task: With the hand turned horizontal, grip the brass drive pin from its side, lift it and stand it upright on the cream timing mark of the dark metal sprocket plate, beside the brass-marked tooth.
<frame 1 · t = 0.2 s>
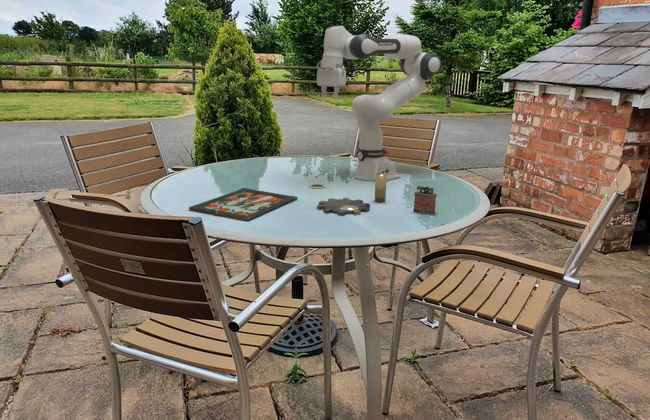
hand: (329, 97, 213), 38 cm above the table, tool pointing down, fingers open, 8 cm apart
painting: (245, 206, 186), on the table
drive pin: (379, 201, 194), on the table
sprocket plate: (343, 207, 184), on the table
lighter: (423, 213, 180), on the table
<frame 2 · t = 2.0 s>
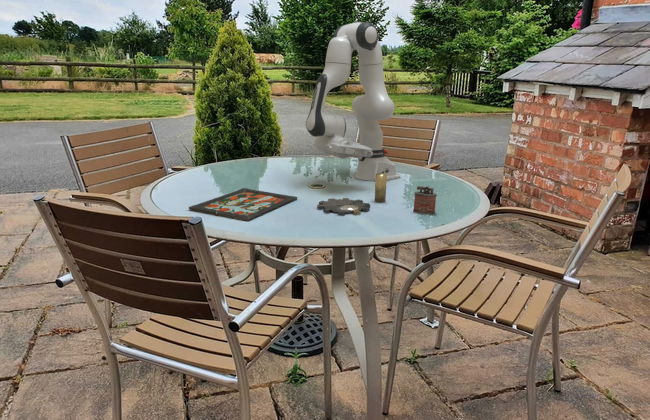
hand: (363, 153, 199), 17 cm above the table, tool horizontal, fingers open, 8 cm apart
nothing on the table moved.
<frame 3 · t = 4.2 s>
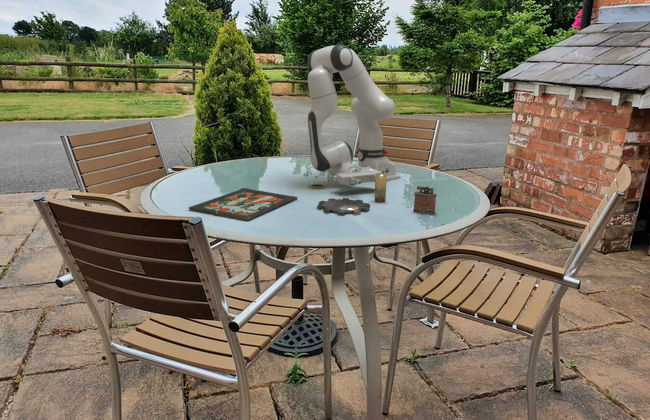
hand: (369, 181, 199), 7 cm above the table, tool horizontal, fingers open, 8 cm apart
nothing on the table moved.
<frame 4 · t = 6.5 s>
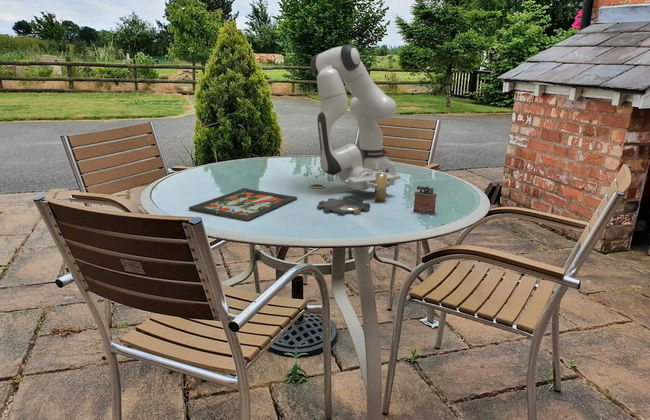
hand: (382, 185, 191), 7 cm above the table, tool horizontal, fingers closed on drive pin, 4 cm apart
drive pin: (380, 201, 194), on the table, touching gripper
everything else where it was.
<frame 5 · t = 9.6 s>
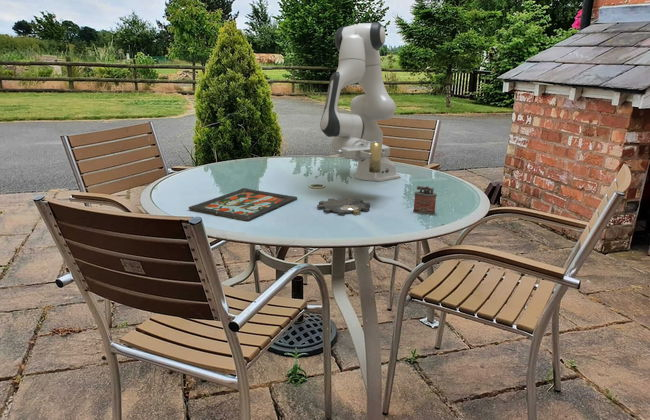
hand: (376, 155, 184), 19 cm above the table, tool horizontal, fingers closed on drive pin, 4 cm apart
drive pin: (374, 171, 187), point 13 cm above the table, touching gripper
everything else where it was.
when the fingers open (9 cm above the table, at t = 13.0 s): drive pin drops 1 cm, resting on sprocket plate.
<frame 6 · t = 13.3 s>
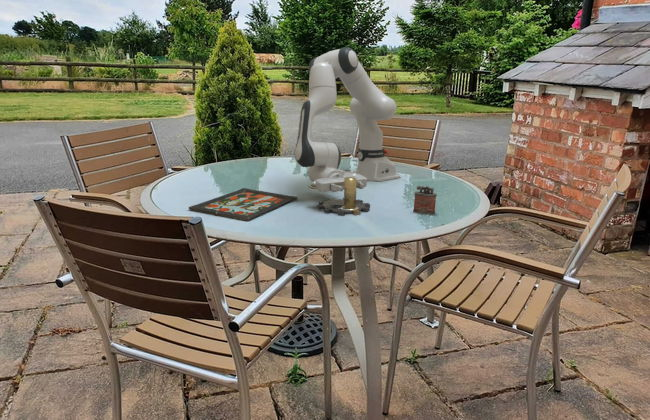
hand: (351, 188, 177), 9 cm above the table, tool horizontal, fingers open, 8 cm apart
drive pin: (350, 207, 180), point 1 cm above the table, touching sprocket plate
everything else where it was.
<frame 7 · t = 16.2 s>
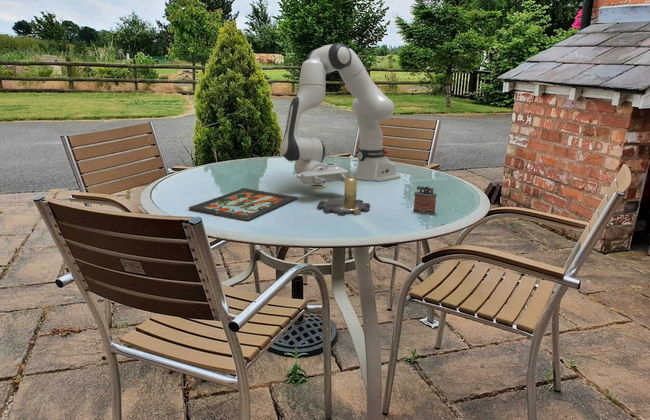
hand: (334, 180, 188), 9 cm above the table, tool horizontal, fingers open, 8 cm apart
nothing on the table moved.
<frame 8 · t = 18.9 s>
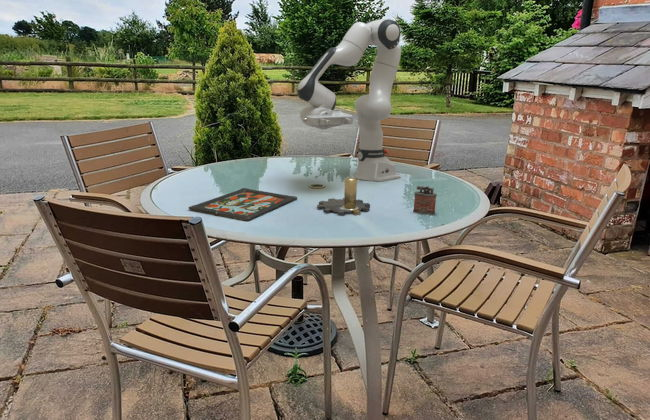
hand: (338, 122, 195), 30 cm above the table, tool horizontal, fingers open, 8 cm apart
nothing on the table moved.
at the end: drive pin 0.0 cm from the target spot on the sprocket plate, point 1.3 cm above the sprocket plate's base; drive pin tilted 0°; the gripper is holding nothing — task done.
